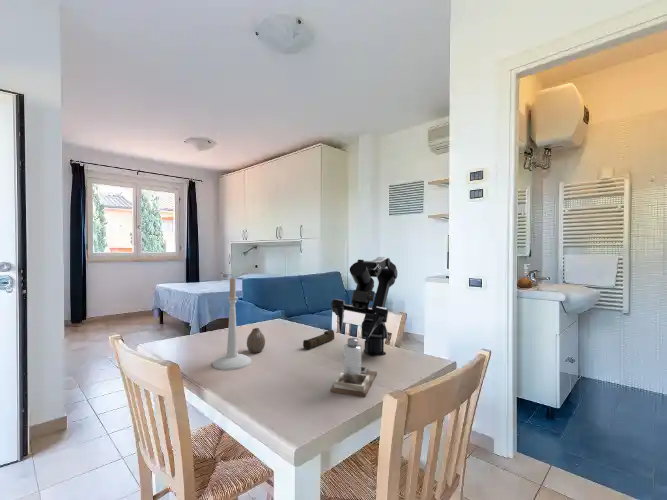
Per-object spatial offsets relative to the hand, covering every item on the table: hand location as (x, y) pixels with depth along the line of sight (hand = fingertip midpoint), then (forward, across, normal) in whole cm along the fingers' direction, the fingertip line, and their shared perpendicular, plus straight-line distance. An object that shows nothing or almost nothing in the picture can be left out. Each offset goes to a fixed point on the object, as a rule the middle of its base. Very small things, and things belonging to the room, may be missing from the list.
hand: (354, 334), depth 109 cm
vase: (+7, -38, +22) cm, 44 cm away
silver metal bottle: (+15, +3, -1) cm, 15 cm away
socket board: (+14, +3, +3) cm, 15 cm away
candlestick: (+15, -40, +11) cm, 44 cm away
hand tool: (-5, -17, +34) cm, 38 cm away
